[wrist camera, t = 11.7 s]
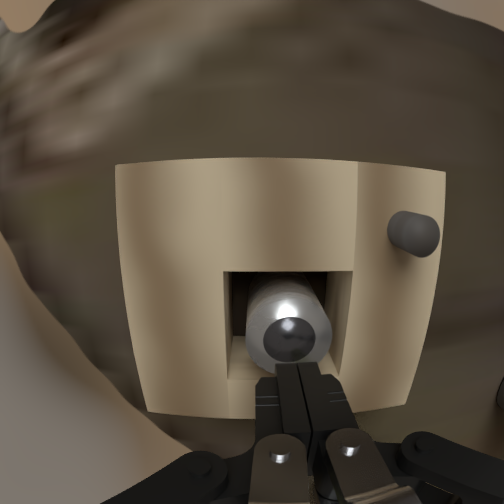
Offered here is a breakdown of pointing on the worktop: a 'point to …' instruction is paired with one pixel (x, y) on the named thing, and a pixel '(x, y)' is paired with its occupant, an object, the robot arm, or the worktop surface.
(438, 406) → the worktop surface
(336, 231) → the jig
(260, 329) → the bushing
